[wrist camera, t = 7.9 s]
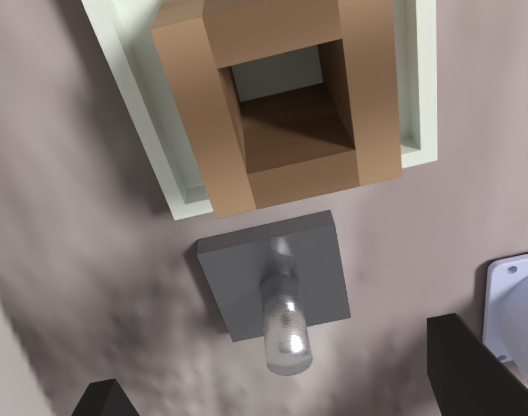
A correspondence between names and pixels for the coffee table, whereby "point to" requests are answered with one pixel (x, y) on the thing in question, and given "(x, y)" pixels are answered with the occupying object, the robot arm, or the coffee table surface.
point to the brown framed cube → (283, 97)
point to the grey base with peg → (278, 285)
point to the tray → (252, 89)
